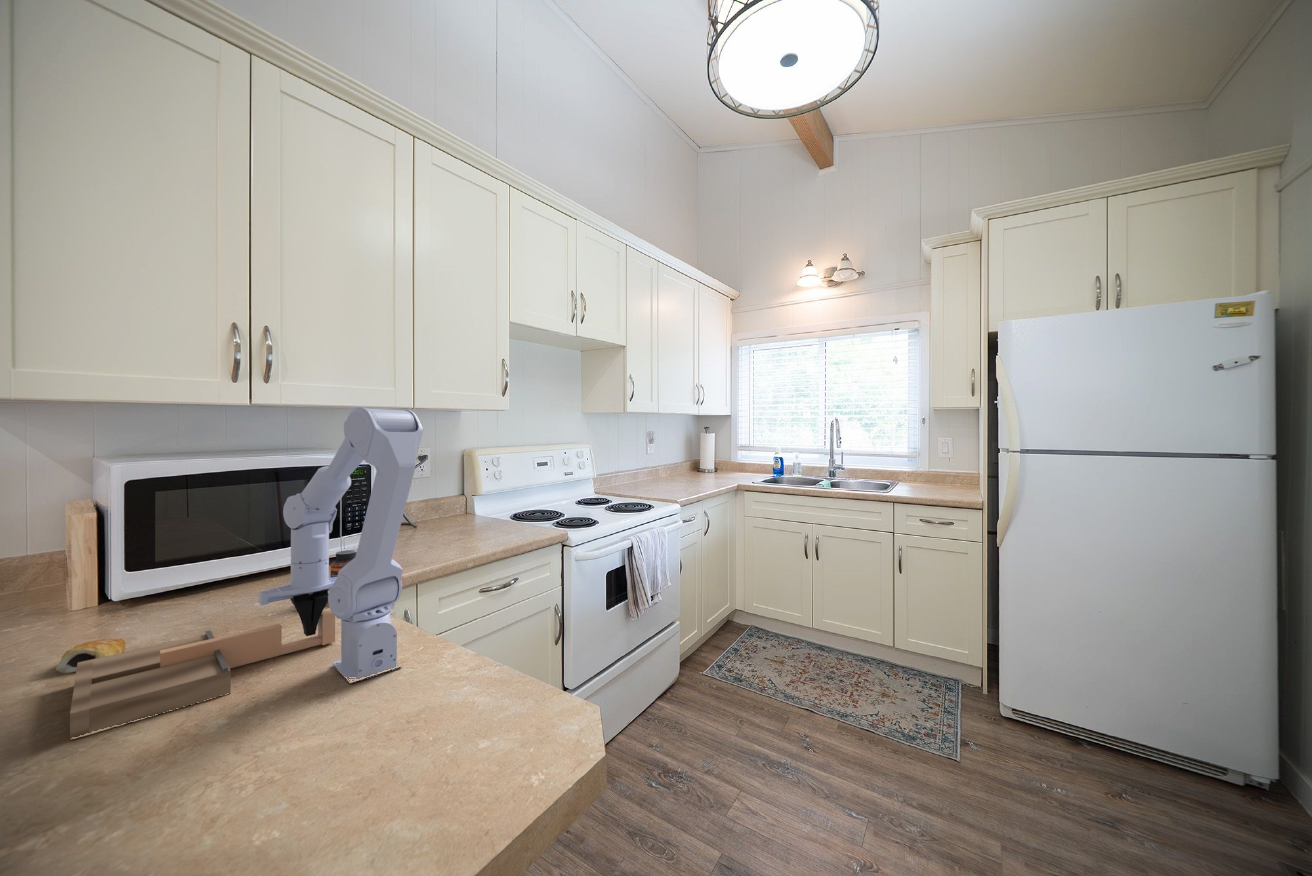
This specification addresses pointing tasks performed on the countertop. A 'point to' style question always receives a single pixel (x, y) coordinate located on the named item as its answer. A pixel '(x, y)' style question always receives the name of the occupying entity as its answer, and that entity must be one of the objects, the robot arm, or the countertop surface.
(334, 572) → the supplement bottle
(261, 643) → the stepped wooden plank
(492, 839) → the countertop surface
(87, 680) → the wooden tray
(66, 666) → the pastry
